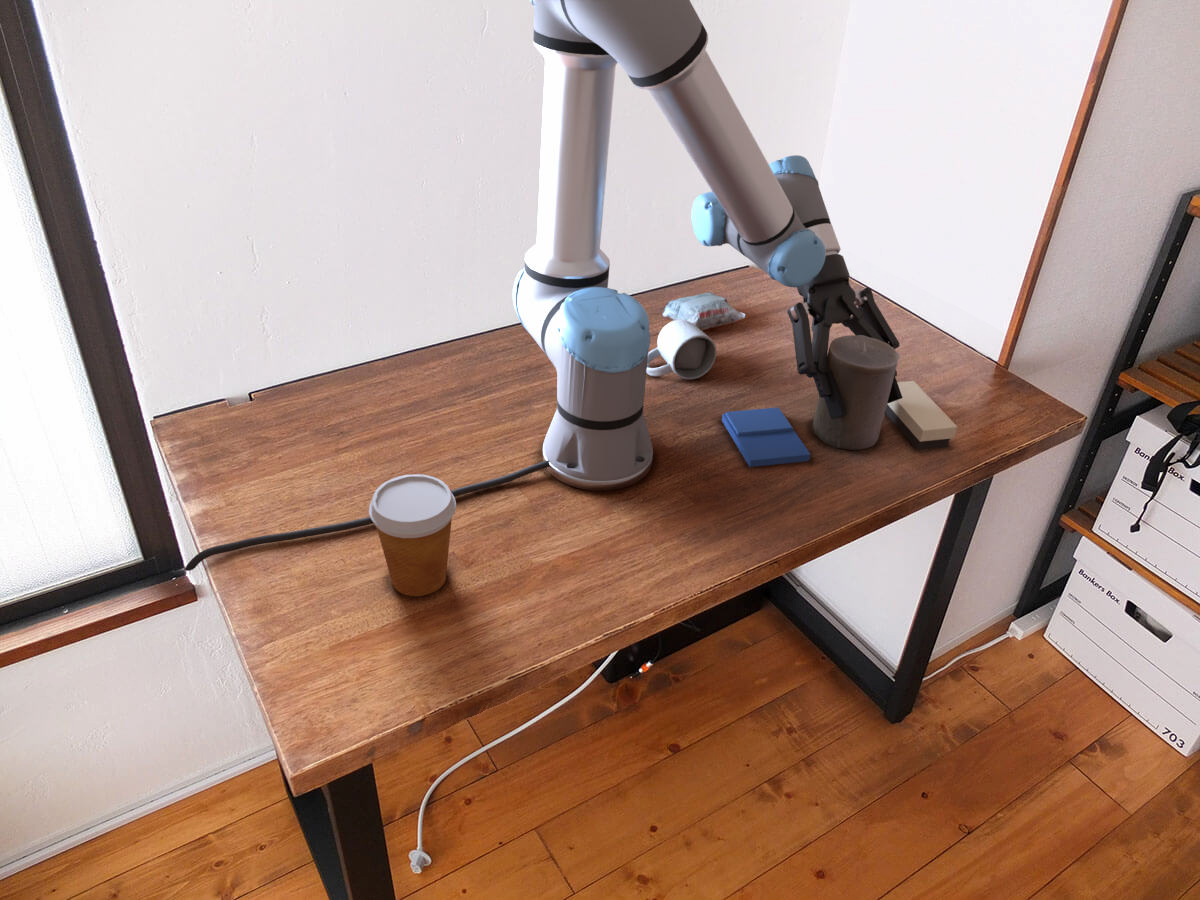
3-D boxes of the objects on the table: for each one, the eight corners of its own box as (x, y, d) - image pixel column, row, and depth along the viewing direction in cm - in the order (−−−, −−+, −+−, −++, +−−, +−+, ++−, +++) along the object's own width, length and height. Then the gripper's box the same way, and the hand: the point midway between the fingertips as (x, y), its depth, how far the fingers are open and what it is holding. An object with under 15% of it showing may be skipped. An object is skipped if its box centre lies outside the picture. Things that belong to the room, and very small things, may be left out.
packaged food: (743, 329, 167) (746, 303, 164) (686, 342, 162) (688, 316, 159) (714, 309, 173) (717, 284, 170) (659, 321, 168) (661, 296, 165)
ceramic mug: (692, 352, 159) (696, 310, 155) (714, 375, 153) (719, 333, 148) (634, 362, 156) (636, 320, 151) (654, 387, 150) (657, 344, 145)
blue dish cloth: (749, 467, 133) (751, 457, 132) (721, 420, 142) (723, 410, 141) (809, 461, 135) (811, 451, 134) (778, 415, 144) (779, 405, 143)
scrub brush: (916, 452, 138) (923, 430, 136) (876, 404, 148) (881, 383, 146) (951, 448, 139) (957, 426, 137) (908, 401, 149) (914, 380, 147)
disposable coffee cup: (463, 551, 116) (459, 472, 109) (456, 607, 108) (451, 525, 101) (384, 550, 115) (375, 470, 109) (371, 606, 108) (360, 524, 101)
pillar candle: (817, 449, 137) (837, 358, 129) (807, 412, 145) (825, 324, 137) (885, 452, 137) (909, 362, 129) (871, 415, 145) (893, 328, 137)
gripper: (860, 260, 146) (908, 398, 143) (740, 285, 137) (790, 432, 135) (891, 240, 139) (943, 385, 137) (767, 265, 130) (820, 420, 128)
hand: (867, 408), depth 136 cm, fingers closed on pillar candle, 9 cm apart
